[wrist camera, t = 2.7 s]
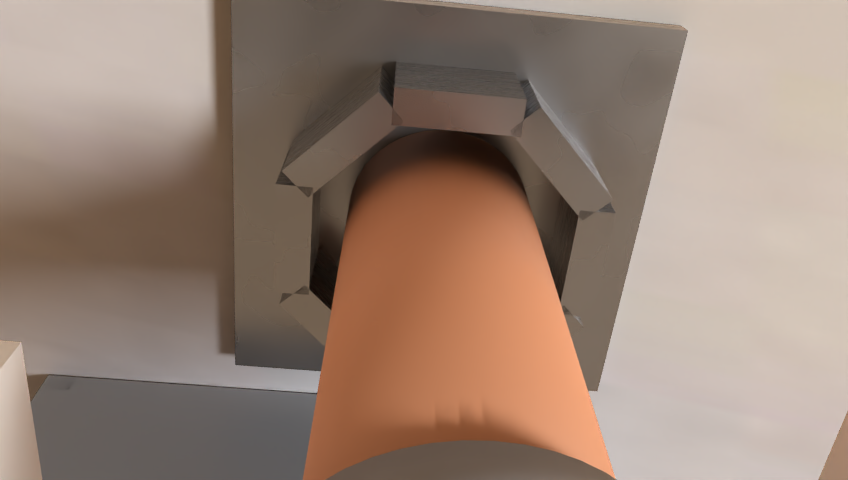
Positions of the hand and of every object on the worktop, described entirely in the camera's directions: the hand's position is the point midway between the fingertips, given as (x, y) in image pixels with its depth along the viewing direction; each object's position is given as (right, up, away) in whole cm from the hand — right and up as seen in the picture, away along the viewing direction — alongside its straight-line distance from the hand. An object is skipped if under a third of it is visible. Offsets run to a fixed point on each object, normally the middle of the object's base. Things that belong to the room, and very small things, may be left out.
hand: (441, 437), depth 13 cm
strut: (0, +4, +7) cm, 8 cm away
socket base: (0, +4, +7) cm, 8 cm away
